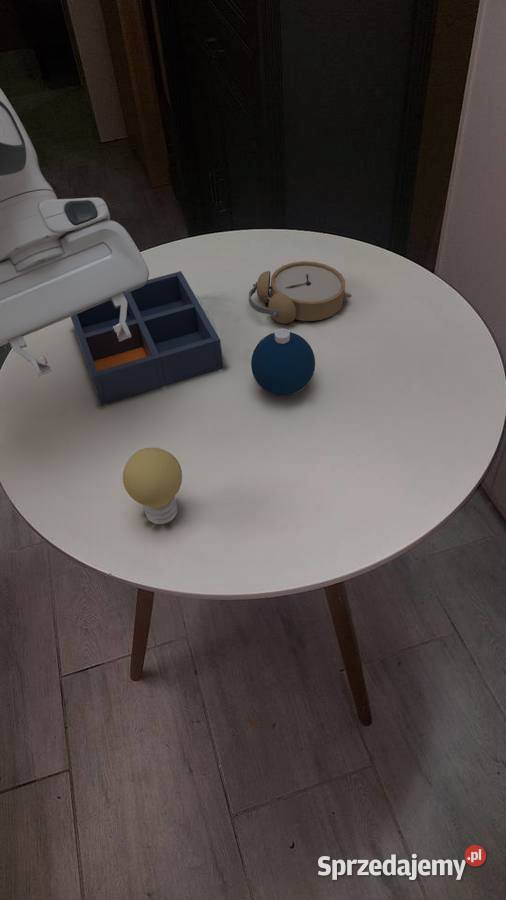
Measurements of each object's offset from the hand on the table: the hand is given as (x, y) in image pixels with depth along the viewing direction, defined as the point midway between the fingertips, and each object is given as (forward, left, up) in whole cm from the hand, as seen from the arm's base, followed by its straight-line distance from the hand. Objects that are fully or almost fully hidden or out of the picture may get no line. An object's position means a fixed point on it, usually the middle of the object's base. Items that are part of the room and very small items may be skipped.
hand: (85, 356), depth 75 cm
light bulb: (+3, -12, -16) cm, 20 cm away
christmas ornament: (+24, +2, -16) cm, 29 cm away
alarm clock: (+33, +18, -16) cm, 41 cm away
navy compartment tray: (+9, +18, -16) cm, 26 cm away
